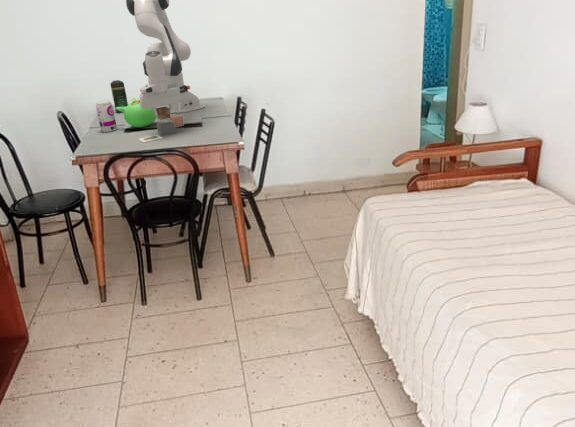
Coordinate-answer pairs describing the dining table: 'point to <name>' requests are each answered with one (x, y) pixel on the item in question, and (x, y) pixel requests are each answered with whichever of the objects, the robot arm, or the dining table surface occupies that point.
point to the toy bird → (137, 114)
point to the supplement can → (106, 116)
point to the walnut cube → (163, 113)
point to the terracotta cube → (177, 120)
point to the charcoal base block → (166, 128)
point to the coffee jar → (119, 94)
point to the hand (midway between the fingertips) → (163, 114)
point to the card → (150, 138)
